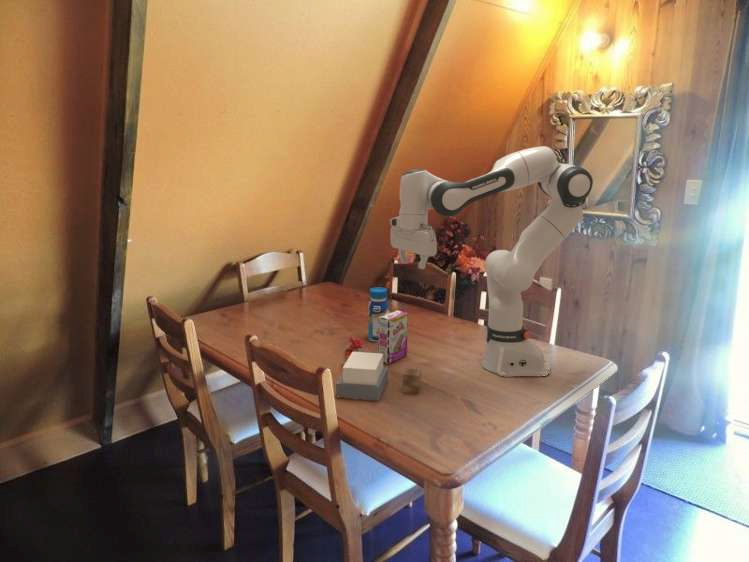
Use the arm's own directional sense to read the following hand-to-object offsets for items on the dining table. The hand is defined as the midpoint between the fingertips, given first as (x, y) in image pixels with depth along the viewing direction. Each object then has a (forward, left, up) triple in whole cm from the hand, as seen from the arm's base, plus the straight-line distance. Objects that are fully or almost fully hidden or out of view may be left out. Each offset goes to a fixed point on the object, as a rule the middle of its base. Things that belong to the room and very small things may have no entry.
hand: (412, 265), depth 176 cm
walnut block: (-2, +13, -37) cm, 39 cm away
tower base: (+13, +15, -37) cm, 42 cm away
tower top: (+13, +15, -32) cm, 38 cm away
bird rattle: (+20, -1, -37) cm, 42 cm away
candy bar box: (+8, -11, -37) cm, 39 cm away
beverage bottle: (+17, -30, -37) cm, 50 cm away
